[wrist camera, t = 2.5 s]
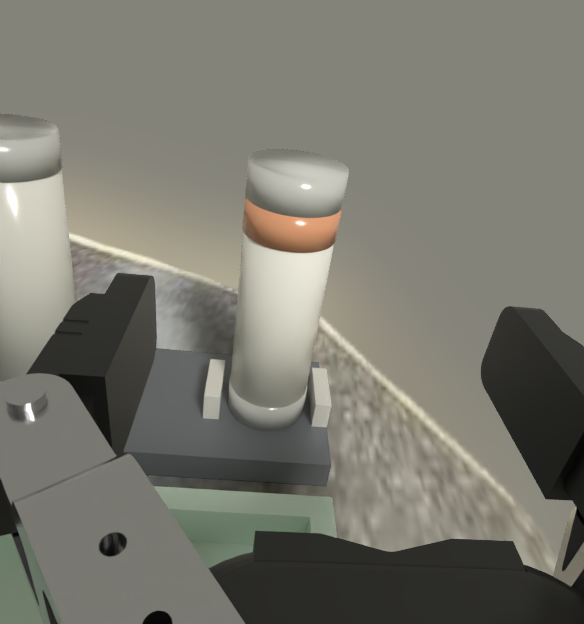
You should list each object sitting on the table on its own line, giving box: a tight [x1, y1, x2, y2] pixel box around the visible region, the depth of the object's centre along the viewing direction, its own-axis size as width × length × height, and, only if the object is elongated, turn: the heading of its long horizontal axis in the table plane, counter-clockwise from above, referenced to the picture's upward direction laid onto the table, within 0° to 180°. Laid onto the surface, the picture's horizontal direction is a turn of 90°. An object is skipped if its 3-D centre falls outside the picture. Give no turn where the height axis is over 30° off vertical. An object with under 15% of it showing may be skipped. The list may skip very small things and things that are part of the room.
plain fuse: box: [0, 114, 76, 383], centre depth 23 cm, size 4×4×13 cm
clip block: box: [123, 348, 331, 486], centre depth 27 cm, size 18×8×3 cm, turn 92°
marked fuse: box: [228, 149, 349, 431], centre depth 24 cm, size 4×4×13 cm
